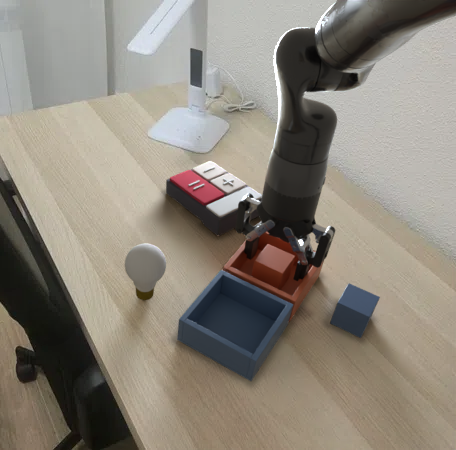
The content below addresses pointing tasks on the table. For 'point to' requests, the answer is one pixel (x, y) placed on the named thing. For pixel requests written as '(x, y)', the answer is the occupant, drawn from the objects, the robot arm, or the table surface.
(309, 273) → the terracotta bin
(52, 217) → the table surface
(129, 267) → the light bulb
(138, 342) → the table surface
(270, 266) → the terracotta block
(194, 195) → the calculator
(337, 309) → the blue block
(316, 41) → the robot arm
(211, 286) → the blue bin
